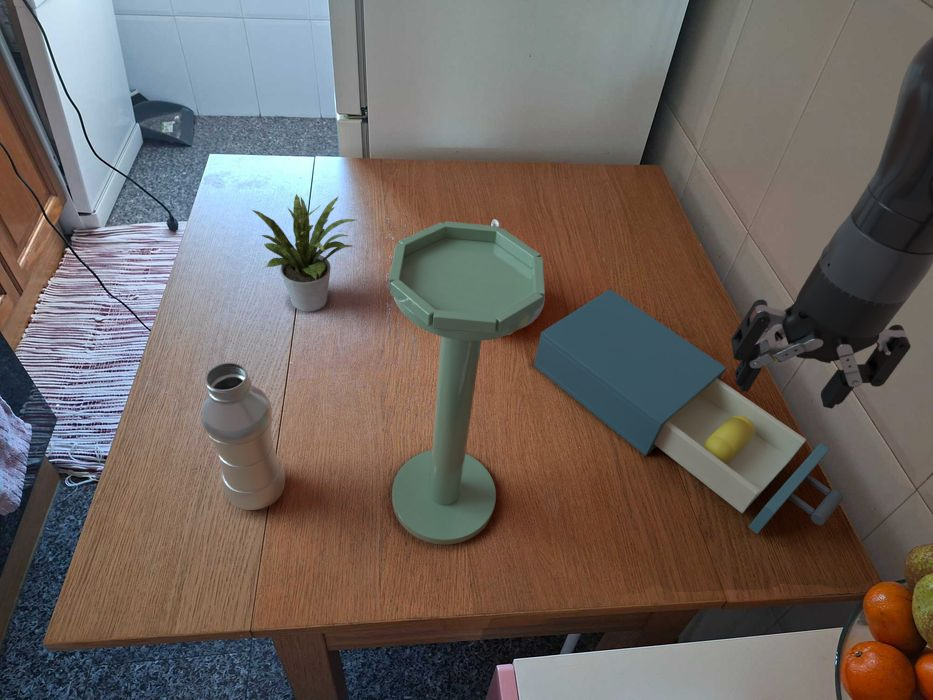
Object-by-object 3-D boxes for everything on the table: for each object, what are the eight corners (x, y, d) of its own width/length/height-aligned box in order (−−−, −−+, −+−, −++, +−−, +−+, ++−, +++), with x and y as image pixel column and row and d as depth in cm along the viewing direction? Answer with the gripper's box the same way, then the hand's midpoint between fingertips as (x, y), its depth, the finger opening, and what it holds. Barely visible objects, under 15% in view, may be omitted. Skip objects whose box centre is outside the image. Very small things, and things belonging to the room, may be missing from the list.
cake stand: (515, 503, 76) (575, 277, 51) (438, 566, 69) (463, 343, 45) (448, 438, 81) (472, 207, 57) (371, 491, 75) (360, 257, 51)
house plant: (382, 312, 96) (381, 221, 84) (298, 350, 90) (284, 256, 78) (332, 262, 103) (325, 171, 92) (251, 293, 97) (232, 199, 85)
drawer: (844, 494, 79) (865, 472, 76) (791, 562, 72) (811, 541, 69) (688, 383, 90) (700, 359, 87) (629, 432, 83) (639, 409, 80)
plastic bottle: (228, 471, 75) (190, 354, 61) (288, 465, 77) (265, 348, 62) (225, 521, 71) (182, 407, 57) (288, 513, 72) (263, 400, 58)
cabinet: (708, 400, 89) (726, 367, 85) (645, 456, 82) (661, 423, 77) (599, 322, 99) (609, 288, 94) (533, 365, 91) (541, 331, 86)
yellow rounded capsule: (728, 422, 84) (739, 405, 82) (753, 440, 82) (764, 422, 80) (694, 455, 80) (704, 438, 77) (718, 474, 78) (730, 457, 76)
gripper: (789, 283, 53) (717, 407, 65) (968, 316, 52) (862, 436, 64) (775, 231, 58) (711, 355, 70) (938, 260, 57) (845, 380, 69)
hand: (783, 393), depth 67 cm, fingers open, 8 cm apart
